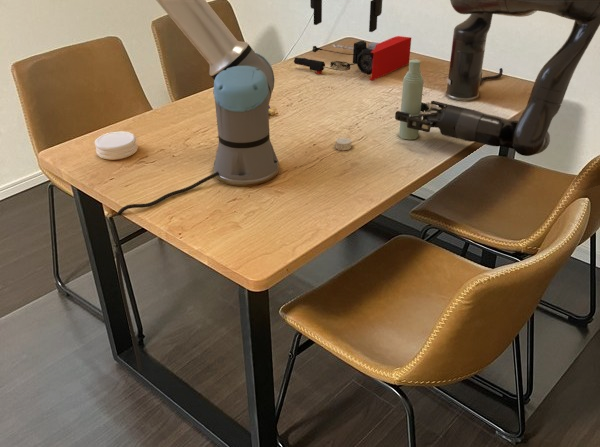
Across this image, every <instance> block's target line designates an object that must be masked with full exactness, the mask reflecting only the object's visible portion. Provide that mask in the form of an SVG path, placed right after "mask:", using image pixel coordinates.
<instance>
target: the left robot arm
mask: <svg viewBox="0 0 600 447" xmlns="http://www.w3.org/2000/svg"><path fill="white" fill-rule="evenodd" d="M155 1H156V2H157V3H158V5H159V6H160V7H161V8H162V9H163V11H164V12H165V13H166V14H167V15H168V17H169V18H170V19H171V20H172V21H173V23H174V24H175V25H176V26H177V27H178V29H179V30H180V31H181V32H182V33H183V35H184V36H185V37H186V38H187V40H189V42H190V43H191V44H192V45H193V46H194V48H195V50H197V51H198V52H199V54H200V55H201V57H203V59H204V60H205V61H206V62H207V63H208V64H209V73H208V74H209V76H210V77H211V78H212V79H213V89H212V90H213V91H212V92H213V98H214V103H215V105H214V106H215V115H216V126H217V135H218V145H217V149H216V153H215V159H214V162H213V167H212V168H213V173H212V174H210V175H208V176H206V177H204V178H202V179H200V180H198V181H196V182H195V183H193V184H191V185H188V186H186V187H184V188H180V189H177V190H174V191H171V192H169V193H166V194H164V195H162V196H161V197H158V198H156V199H155V200H153V201H150V202H147V203H131V204H127V205H124V206H122V207H121V208H120V209H119V210H118V211H117V213H116V214H115V216H122V214H123V213H124V212H125V211H127V210H130V209H139V208H140V209H141V208H143V209H144V208H149V207H153V206H155V205H157V204H159V203H161V202H163V201H165V200H166V199H168V198H170V197H173V196H177V195H180V194H183V193H185V192H188V191H191V190H193V189H195V188H196V187H197V188H198V187H199V186H200V185H202V184H204V183H206V182H208V181H210V180H211V179H214V178H215V179H217V181H219V182H220V183H223V184H225V185H228V186H229V185H230V186H234V187H251V186H252V187H253V186H257V185H261V184H265V183H267V182H269V181H271V180H273V179H274V178H275V177H276V176H277V175H278V174H279V171H280V166H279V164H280V163H279V160H278V156H277V154H276V151H275V149H274V146H273V144H272V142H271V138H270V136H271V135H270V134H271V133H270V114H269V105H270V104H271V103H270V102H271V99H272V95H273V94H272V93H273V91H274V89H275V74H274V70H273V66H272V65H271V63H270V62H269V60H268V59H267V58H266V57H265V56H264V55H262V54H260V53H258V52H255V50H254V49H253V48H252V46H250V44H249V43H248V42H247V41H240V40H238V39H237V38H236V37H235V35H234V34H233V33H232V31H230V29H229V28H228V27H227V26H226V24H225V23H224V22H223V20H222V19H221V18H220V17H219V16H218V14H217V13H216V11H215V10H214V8H212V6H211V5H210V4H209V3H208V1H207V0H155ZM369 3H370V5H369V22H368V23H369V25H368V32H369V33H373V32H375V31H376V30H377V29H378V17H379V16H381V15H382V12H383V0H370V2H369ZM310 9H312V10H313V25H314V26H317V25H320V24H321V23H322V22H323V20H322V19H323V0H310ZM114 252H115V262H116V270H117V277H118V283H119V288H120V294H121V298H122V302H123V307H124V312H125V316H126V319H127V323H128V328H129V332H130V335H131V341H132V344H133V349H134V353H135V358H136V359H135V360H136V364H137V369H138V372H139V373H142V372H143V367H142V361H141V357H140V351H139V347H138V343H137V339H136V333H135V330H134V325H133V321H132V316H131V312H130V309H129V308H130V307H129V303H128V299H127V296H126V295H127V294H126V290H125V284H124V279H123V273H122V267H121V266H122V265H121V258H120V257H121V256H120V254H119V253H118V251H116V250H115V251H114Z"/></svg>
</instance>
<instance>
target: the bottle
mask: <svg viewBox="0 0 600 447" xmlns="http://www.w3.org/2000/svg"><path fill="white" fill-rule="evenodd" d="M421 64H422V61H421V60H420V59H417V58H412V59H409V64H408V70H407V72H406V74H405V75H404V77H403V79H402V89H401V90H402V91H401V102H400V103H401V104H400V111H401V112H405V113H409V114H418V113H419V112H421V102H422V100H423V90H424V77H423V74H422V73H421ZM422 103H423V102H422ZM415 126H416V125H415ZM398 128H399V129H398V130H399V131H398V137H399V138H400V139H403V140H409V141H410V140H416V139H418V137H419V131H420V130H415V129H411V128H407V122H403V121H399V127H398Z"/></svg>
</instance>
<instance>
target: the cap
mask: <svg viewBox="0 0 600 447" xmlns="http://www.w3.org/2000/svg"><path fill="white" fill-rule="evenodd" d="M351 148H352V140H351V138H348V137H338V138H336V139H335V149H336V150H338V151H349V150H350V149H351Z"/></svg>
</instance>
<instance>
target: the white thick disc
mask: <svg viewBox="0 0 600 447" xmlns="http://www.w3.org/2000/svg"><path fill="white" fill-rule="evenodd" d="M94 146H95V152H96V155H97V156H98V157H100V158H101V159H104V160H110V161H111V160H114V161H115V160H116V161H117V160H122V159H126V158H128V157H130V156H133V155H134V154H135V153H136V152H137V151H138V147H139V146H138V141H137V137H136V135H135V134H133V133H132V132H129V131H124V130H123V131H121V130H119V131H110V132H107V133H103V134H102V135H99V136H98V137H97V138H96V139H95V140H94Z"/></svg>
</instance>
